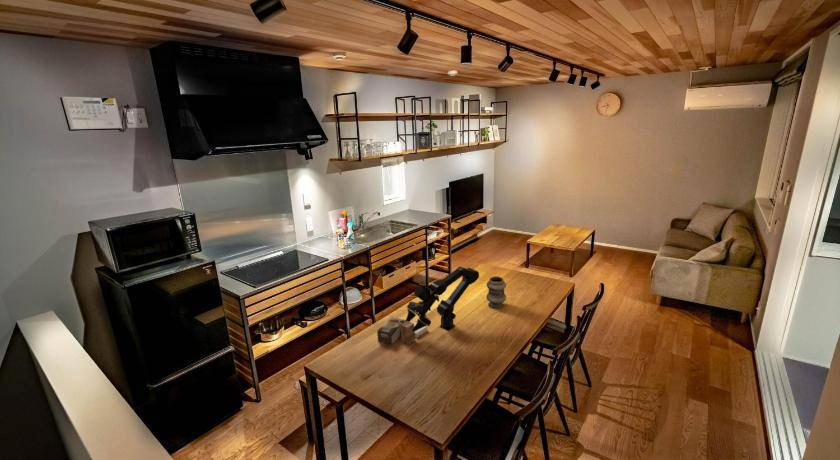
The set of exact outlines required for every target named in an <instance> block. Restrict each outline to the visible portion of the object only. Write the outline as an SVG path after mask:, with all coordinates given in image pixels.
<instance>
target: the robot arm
mask: <svg viewBox="0 0 840 460" xmlns="http://www.w3.org/2000/svg"><path fill="white" fill-rule="evenodd" d="M460 278H461V281H460V282H459V283H458V285H457V286H456V287H455V289H454V290H453V291H452V293H451V294H450V295H449V297H448V298H447V299H446V300H444V299H442V300H441V301H440V297H439V296H441V295H443V294H444V293H445V292H446V291H447V288H448V287H449V286H451V285H452V284H453V283H455V282H456V281H457V280H459V279H460ZM479 278H480V273H479V271H478V270H477V269H474V268H471V267H467V268H466V267H462V266H458V267H457V268H456V269H455V270H453V271H452V272H451V273H449V274H448V275H446V276H444V278H442V279H437V280H435V281H433V282H431V283H430V284H428V285H427V286H426V285H424V284H420V285H419V286H417V287H416V288H415V289H414V291H413V294H414V296H415V297H417V298H418V299H420V301H418V302H415V301H409V302H408V304H407V305H406V309H407V315H406V319H405V322H406V321H409V322H411V321H412V320H413V319H414V318H416V316H417V317H418V318H417V321H416V322H417V324H416V325H415V327H414V328H413V330H412V331H413V332H415V331H416V330H418V329H420V328H422V327H425V326H427V327H430V325H431V324H432V320H431V319H429V317H427V315H426V314H427V313H428V312H431V310H432V309H431V307H433V305H434V304H435V302H436V301H437V302H439V304H437V308H436V312H437V314H438V316H440V317H441V318H440V325H439V328H442V329H444V330H446V331H450V330H451V329H453V328H454V327H455V326H456V324H454V320H455V319H456V316H457V315H456V314H455V313H454V311H455V305H456V304H457V302H458V301H459V299H460V298H461V296H462V295H463V294H464V293H465V291H466V290H467V289H468V288H469V286H470V285H472V284H474V283H476V281H477V280H478V279H479Z"/></svg>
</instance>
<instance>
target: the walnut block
mask: <svg viewBox="0 0 840 460" xmlns="http://www.w3.org/2000/svg"><path fill="white" fill-rule="evenodd" d="M405 321H406V320H405ZM413 323H414V322H411V321H410V322H409V321H406V322H404V323H403V324H401V335H400V336H401V342H402V341H403V343H404V342H405V344H406V343H407V345H410V344H412V343H413V342H415V341H416V337H415V332H413V331H412V330H413V328H414V324H413ZM414 340H415V341H414ZM411 342H412V343H411Z"/></svg>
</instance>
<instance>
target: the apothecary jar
mask: <svg viewBox="0 0 840 460" xmlns="http://www.w3.org/2000/svg"><path fill="white" fill-rule="evenodd" d="M486 288H488V292H487V294H486V300H487V301H488V304H487V306H488V308H490V309H495V310H501V309H504V308H505V304H504V302H505V301H506V300H507V296H506V294H505V289H506V288H507V283H506V281H504V278H503V277H502V276H498V275H497V276H495V275H494V276H492V277H490V278H489V280H488V281H487V282H486Z"/></svg>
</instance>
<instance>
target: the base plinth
mask: <svg viewBox="0 0 840 460" xmlns="http://www.w3.org/2000/svg"><path fill="white" fill-rule="evenodd" d="M412 323H413V324H414V327H415V325H416V324H417V321H413V322H412ZM427 331H428V325H427V326H425V327H422V328H420V329H418V330H416V331H415V338H418V337H419V335H420V336H422V335H424V334H425V333H426V332H427Z"/></svg>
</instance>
